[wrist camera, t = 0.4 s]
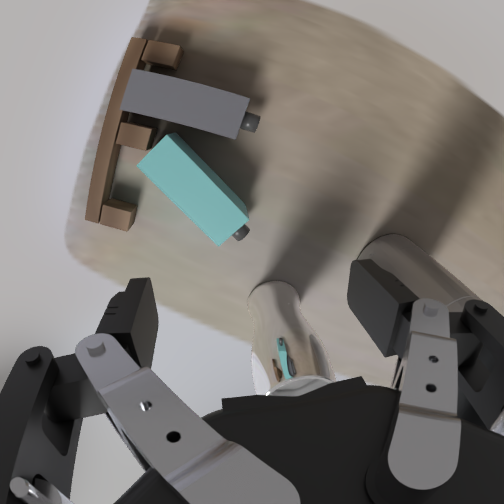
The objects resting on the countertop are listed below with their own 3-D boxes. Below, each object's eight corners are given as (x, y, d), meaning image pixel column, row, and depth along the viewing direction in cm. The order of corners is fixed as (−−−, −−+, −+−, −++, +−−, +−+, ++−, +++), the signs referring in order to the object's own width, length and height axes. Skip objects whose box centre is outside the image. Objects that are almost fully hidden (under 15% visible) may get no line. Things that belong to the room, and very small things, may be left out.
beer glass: (292, 329, 38) (323, 426, 24) (237, 322, 37) (248, 425, 23) (310, 281, 35) (356, 375, 22) (251, 272, 34) (270, 371, 21)
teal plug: (255, 214, 32) (260, 231, 27) (229, 237, 33) (230, 257, 28) (175, 132, 28) (166, 134, 23) (149, 158, 28) (136, 165, 24)
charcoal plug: (260, 107, 27) (267, 104, 23) (248, 141, 29) (253, 145, 24) (146, 76, 25) (132, 68, 20) (135, 110, 26) (119, 109, 22)
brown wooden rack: (183, 51, 24) (180, 45, 22) (133, 223, 31) (127, 231, 28) (138, 42, 23) (131, 37, 21) (93, 212, 30) (84, 219, 27)
